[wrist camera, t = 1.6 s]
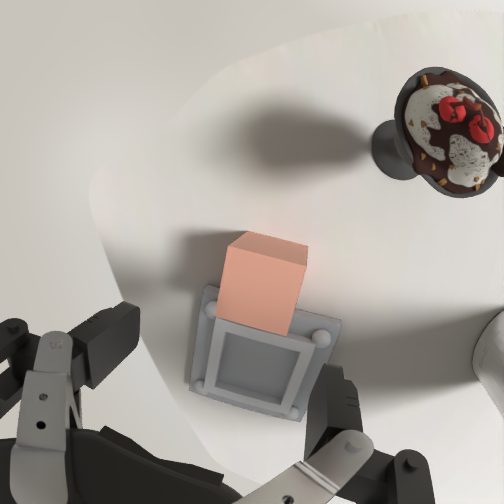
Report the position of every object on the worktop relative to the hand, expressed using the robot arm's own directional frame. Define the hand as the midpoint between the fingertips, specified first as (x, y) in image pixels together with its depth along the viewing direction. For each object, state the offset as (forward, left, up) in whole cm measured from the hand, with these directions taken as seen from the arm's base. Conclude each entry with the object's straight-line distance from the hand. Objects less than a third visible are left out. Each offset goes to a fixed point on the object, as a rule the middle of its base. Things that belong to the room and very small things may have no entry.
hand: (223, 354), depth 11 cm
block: (0, 0, -14) cm, 14 cm away
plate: (-1, +9, -13) cm, 16 cm away
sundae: (-8, -12, -14) cm, 20 cm away
